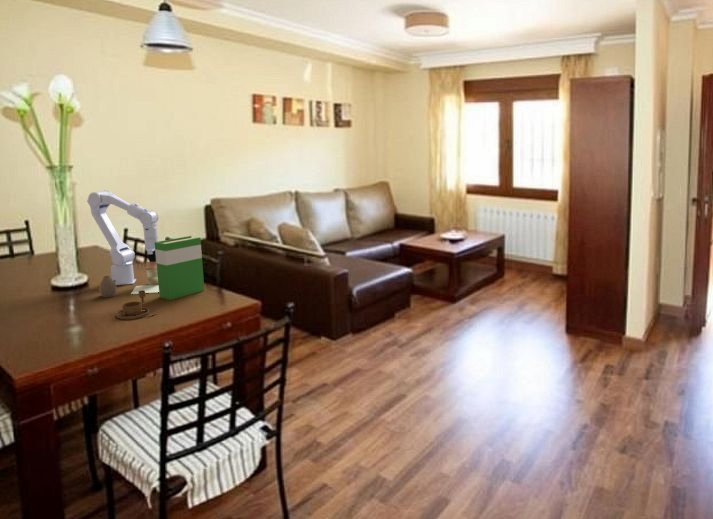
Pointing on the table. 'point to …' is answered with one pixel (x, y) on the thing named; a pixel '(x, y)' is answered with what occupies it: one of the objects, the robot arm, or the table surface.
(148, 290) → the mat
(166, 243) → the hardback book
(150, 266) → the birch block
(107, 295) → the vase
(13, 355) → the table surface
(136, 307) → the place setting
